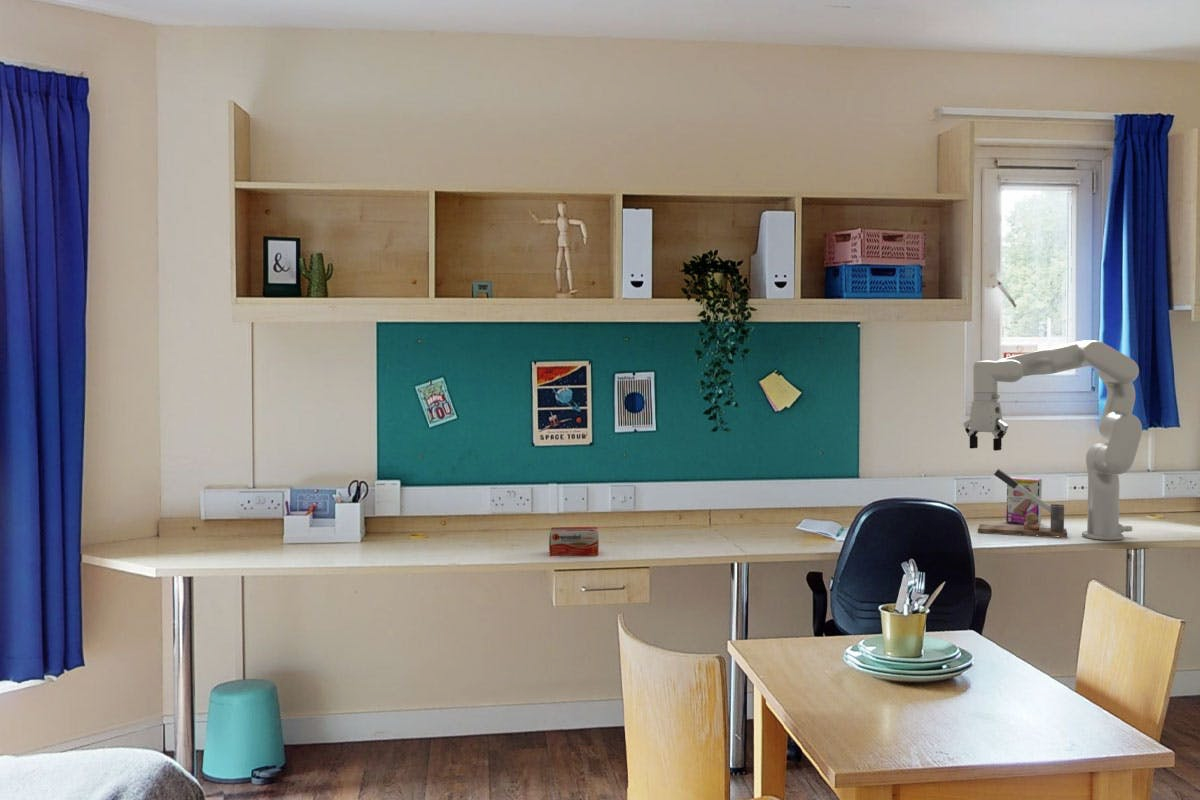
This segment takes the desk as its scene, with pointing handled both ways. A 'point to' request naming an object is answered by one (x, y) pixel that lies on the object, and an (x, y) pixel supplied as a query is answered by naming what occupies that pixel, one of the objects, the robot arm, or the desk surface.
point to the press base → (1019, 530)
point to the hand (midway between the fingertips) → (985, 449)
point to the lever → (1021, 489)
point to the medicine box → (574, 541)
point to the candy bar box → (1023, 500)
